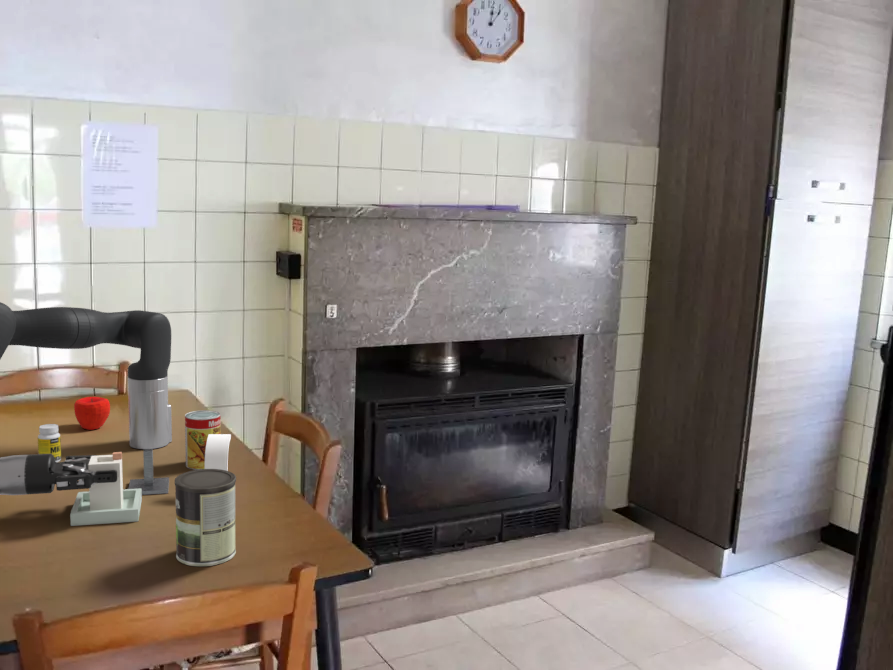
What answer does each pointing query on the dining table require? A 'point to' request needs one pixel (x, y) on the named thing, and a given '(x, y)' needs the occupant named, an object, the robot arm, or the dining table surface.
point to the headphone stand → (217, 451)
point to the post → (150, 478)
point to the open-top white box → (106, 493)
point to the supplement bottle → (49, 441)
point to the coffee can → (205, 517)
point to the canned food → (199, 435)
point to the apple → (92, 412)
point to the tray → (87, 517)
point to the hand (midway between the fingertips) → (118, 469)
